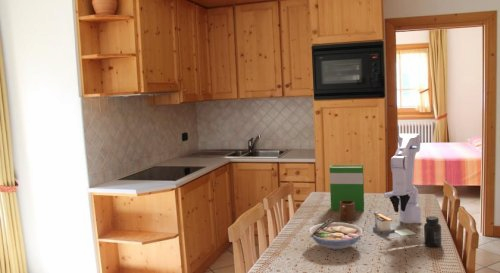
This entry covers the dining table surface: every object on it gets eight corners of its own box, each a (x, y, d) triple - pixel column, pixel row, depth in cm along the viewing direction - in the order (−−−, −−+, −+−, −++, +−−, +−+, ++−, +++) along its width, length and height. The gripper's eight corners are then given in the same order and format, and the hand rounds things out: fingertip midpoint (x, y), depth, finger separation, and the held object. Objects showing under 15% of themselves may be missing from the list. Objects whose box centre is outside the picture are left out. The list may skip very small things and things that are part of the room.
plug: (385, 228, 212) (384, 216, 211) (389, 231, 208) (389, 218, 207) (377, 230, 211) (377, 217, 210) (382, 232, 207) (381, 220, 206)
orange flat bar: (377, 213, 216) (377, 211, 216) (393, 221, 203) (393, 219, 203) (372, 214, 215) (372, 212, 215) (388, 222, 203) (388, 219, 203)
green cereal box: (364, 207, 252) (363, 165, 249) (363, 211, 245) (362, 167, 242) (332, 206, 257) (330, 165, 254) (331, 210, 250) (329, 167, 247)
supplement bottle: (441, 242, 193) (440, 215, 192) (442, 248, 187) (442, 220, 185) (423, 241, 195) (423, 214, 194) (424, 247, 189) (424, 219, 187)
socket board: (394, 224, 220) (394, 211, 219) (417, 235, 203) (417, 221, 202) (361, 229, 216) (361, 215, 215) (381, 241, 198) (381, 227, 197)
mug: (349, 225, 222) (349, 207, 221) (335, 224, 226) (334, 205, 224) (357, 218, 232) (356, 201, 231) (342, 217, 236) (342, 199, 235)
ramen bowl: (351, 261, 178) (351, 241, 177) (299, 252, 190) (298, 234, 190) (370, 241, 199) (370, 223, 198) (322, 234, 211) (322, 217, 210)
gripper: (389, 185, 199) (390, 215, 200) (418, 182, 202) (418, 211, 204) (381, 182, 205) (381, 211, 207) (409, 179, 209) (409, 207, 211)
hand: (399, 211), depth 206 cm, fingers open, 3 cm apart
